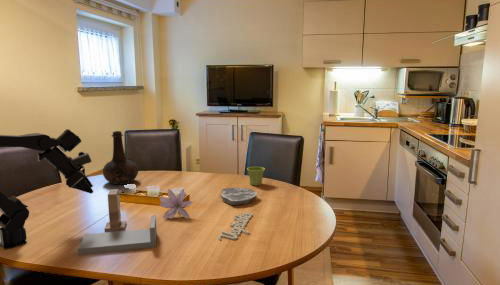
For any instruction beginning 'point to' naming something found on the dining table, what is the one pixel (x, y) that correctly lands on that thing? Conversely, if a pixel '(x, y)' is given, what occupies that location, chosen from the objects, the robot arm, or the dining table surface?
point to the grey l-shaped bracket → (119, 240)
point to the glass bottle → (119, 164)
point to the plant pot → (255, 175)
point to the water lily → (175, 204)
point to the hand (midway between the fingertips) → (92, 189)
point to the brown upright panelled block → (114, 212)
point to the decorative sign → (237, 227)
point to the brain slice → (237, 195)
